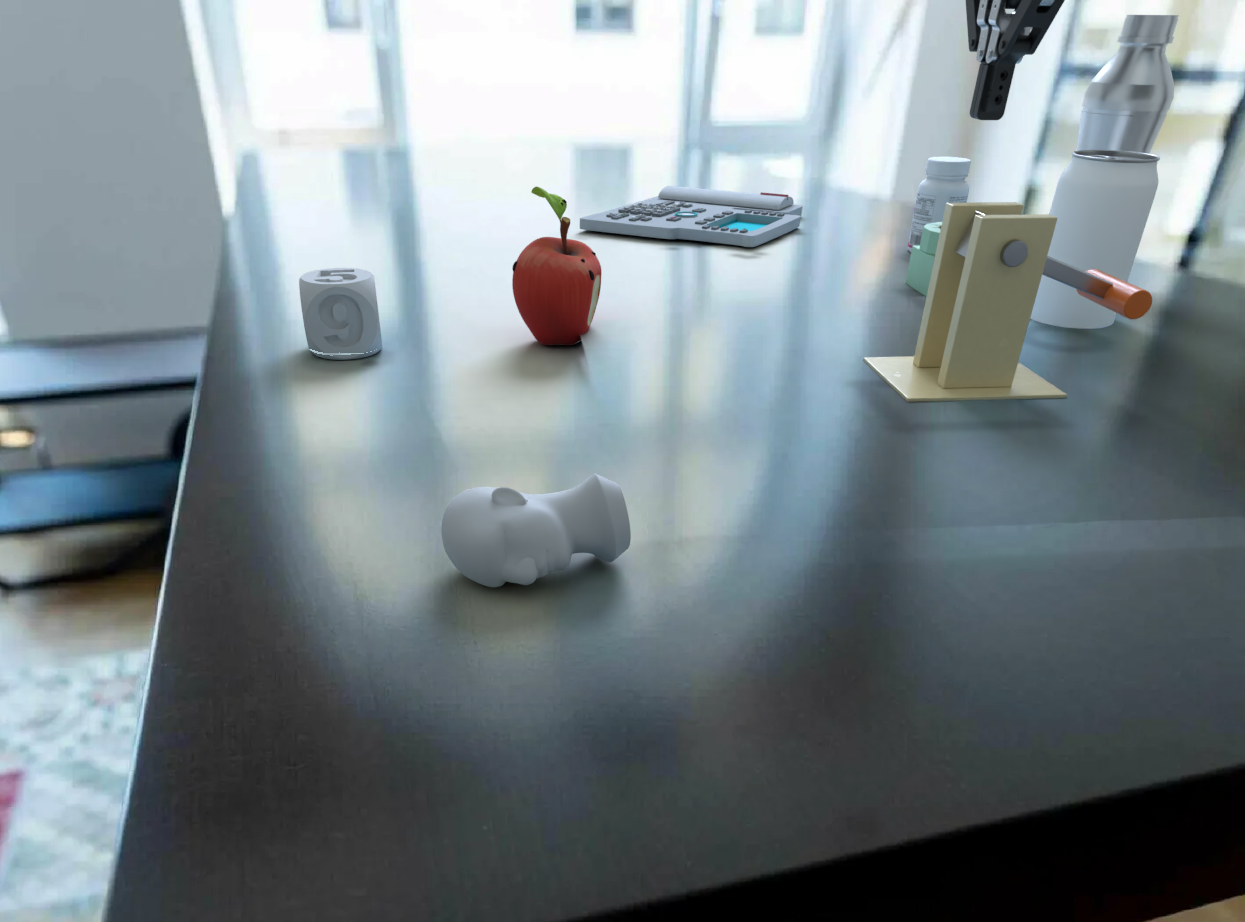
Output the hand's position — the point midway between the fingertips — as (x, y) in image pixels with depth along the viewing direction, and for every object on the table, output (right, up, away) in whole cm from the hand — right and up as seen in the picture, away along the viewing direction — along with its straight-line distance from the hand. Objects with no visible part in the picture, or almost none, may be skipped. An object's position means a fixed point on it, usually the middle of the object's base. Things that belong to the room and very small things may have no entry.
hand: (985, 118), depth 74 cm
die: (-49, -21, -8) cm, 54 cm away
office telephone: (-18, +6, +32) cm, 37 cm away
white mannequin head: (-34, -40, -34) cm, 62 cm away
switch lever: (-4, -21, -18) cm, 28 cm away
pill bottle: (+3, -2, +20) cm, 21 cm away
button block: (+2, -11, +7) cm, 13 cm away
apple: (-34, -20, -6) cm, 40 cm away
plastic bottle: (+11, -10, +9) cm, 18 cm away
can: (+5, -18, -2) cm, 19 cm away
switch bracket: (-8, -26, -15) cm, 31 cm away
